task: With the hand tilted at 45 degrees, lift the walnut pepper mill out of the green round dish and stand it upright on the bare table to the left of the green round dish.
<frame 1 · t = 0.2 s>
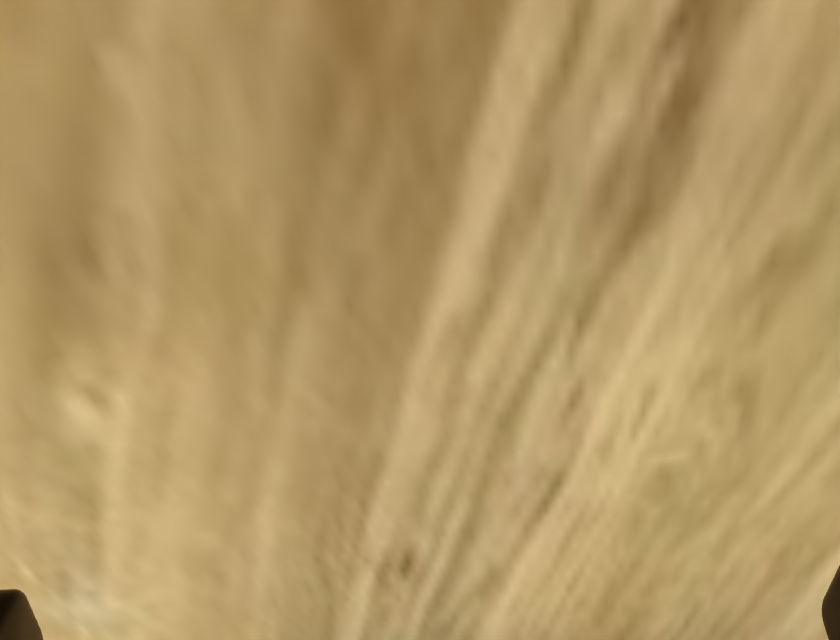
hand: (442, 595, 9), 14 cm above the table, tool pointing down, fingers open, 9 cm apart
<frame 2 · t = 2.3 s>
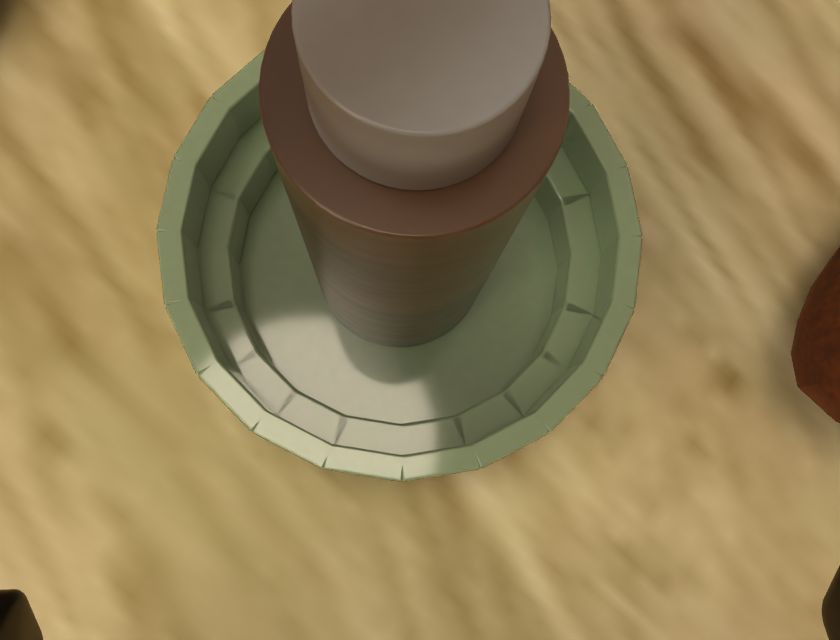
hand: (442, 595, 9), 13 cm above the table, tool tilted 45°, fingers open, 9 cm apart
green round dish: (399, 271, 23), on the table
pepper mill: (400, 267, 23), point 1 cm above the table, touching green round dish
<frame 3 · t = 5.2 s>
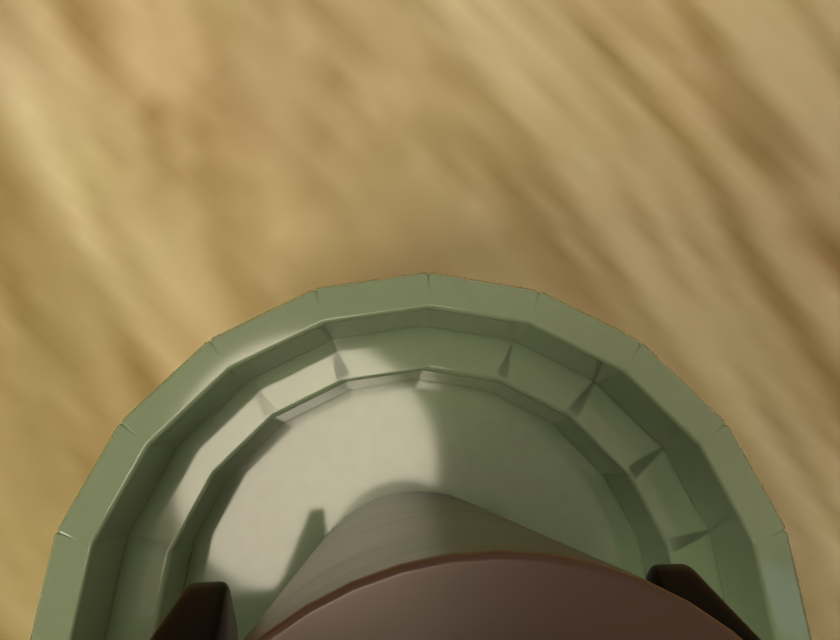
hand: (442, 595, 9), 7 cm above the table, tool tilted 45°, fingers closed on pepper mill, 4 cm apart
green round dish: (417, 609, 16), on the table
pepper mill: (418, 614, 15), point 1 cm above the table, touching green round dish, gripper
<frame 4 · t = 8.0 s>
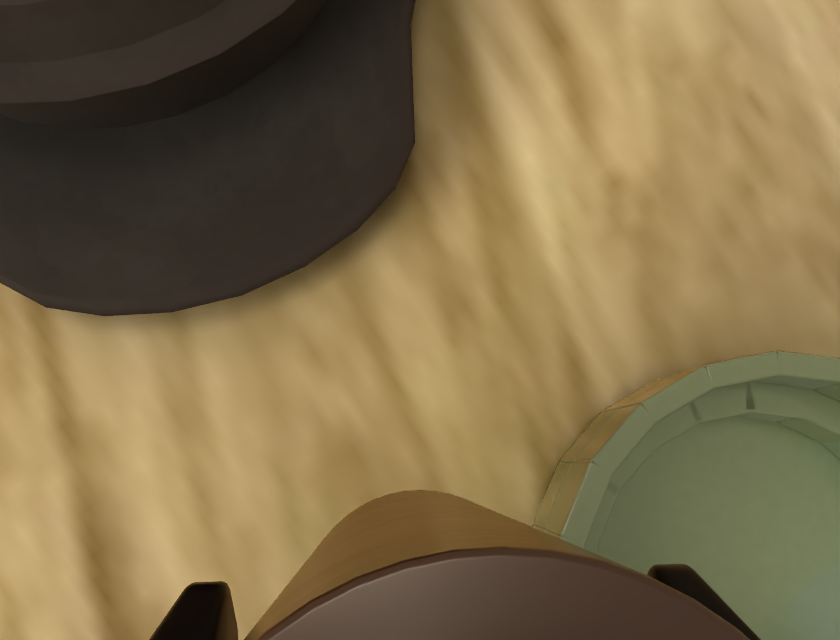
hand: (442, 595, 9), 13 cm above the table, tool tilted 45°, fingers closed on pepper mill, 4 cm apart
green round dish: (732, 579, 22), on the table
pepper mill: (419, 613, 15), point 7 cm above the table, touching gripper
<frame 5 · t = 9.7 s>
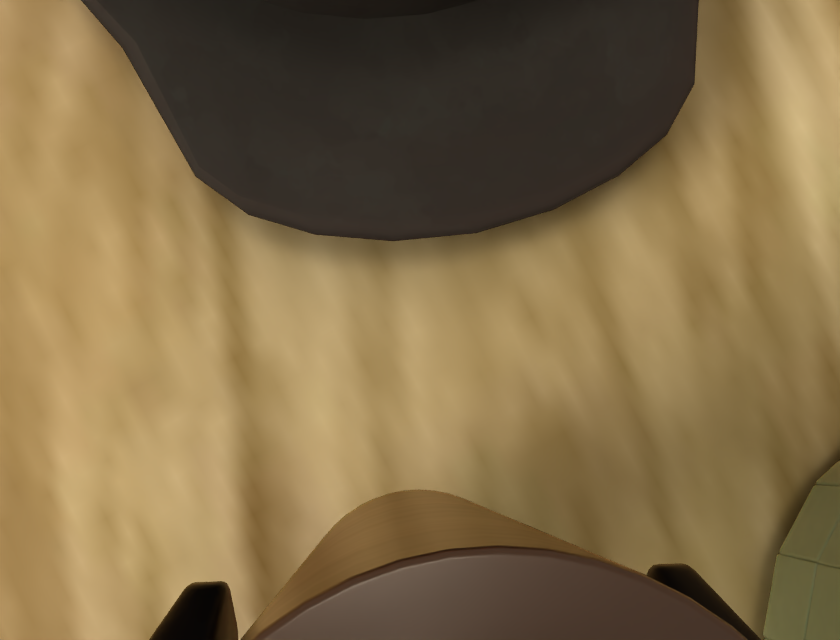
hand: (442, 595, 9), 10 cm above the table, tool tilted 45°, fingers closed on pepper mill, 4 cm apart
pepper mill: (418, 613, 15), point 3 cm above the table, touching gripper
when the fingers open (7 cm above the table, at t = 11.0 s): pepper mill stays where it is, on the table.
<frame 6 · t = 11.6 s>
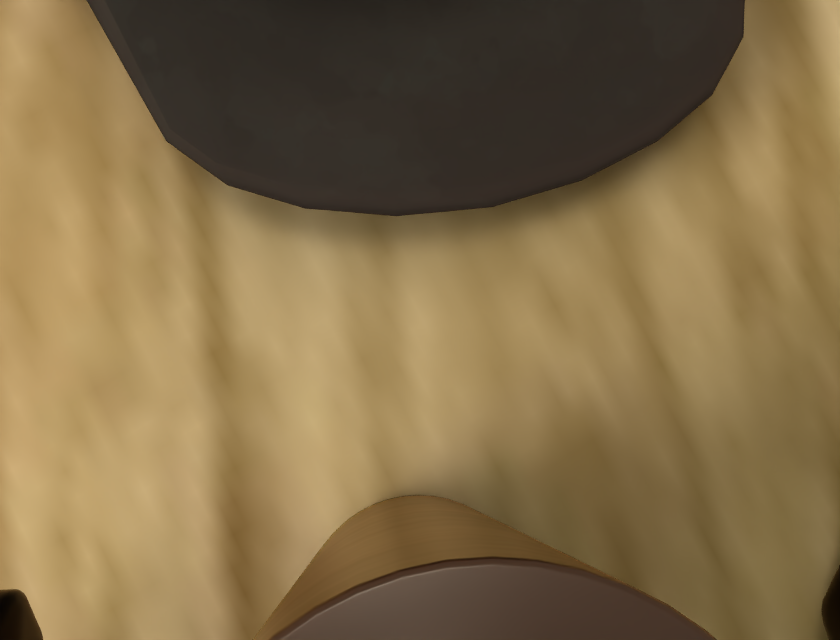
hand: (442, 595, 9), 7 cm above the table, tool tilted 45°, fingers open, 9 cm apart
pepper mill: (418, 615, 16), on the table
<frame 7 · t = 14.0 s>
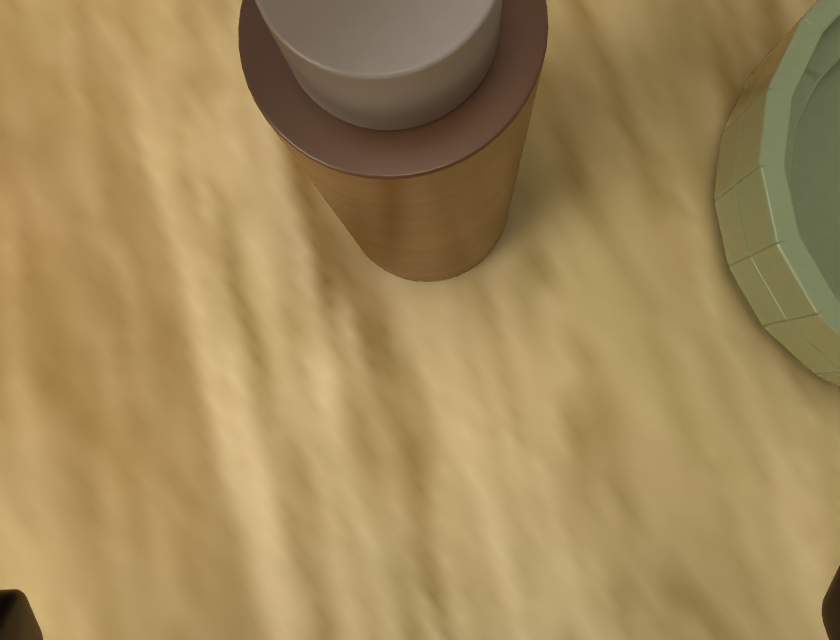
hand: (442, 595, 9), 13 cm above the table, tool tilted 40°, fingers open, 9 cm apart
pepper mill: (427, 201, 23), on the table
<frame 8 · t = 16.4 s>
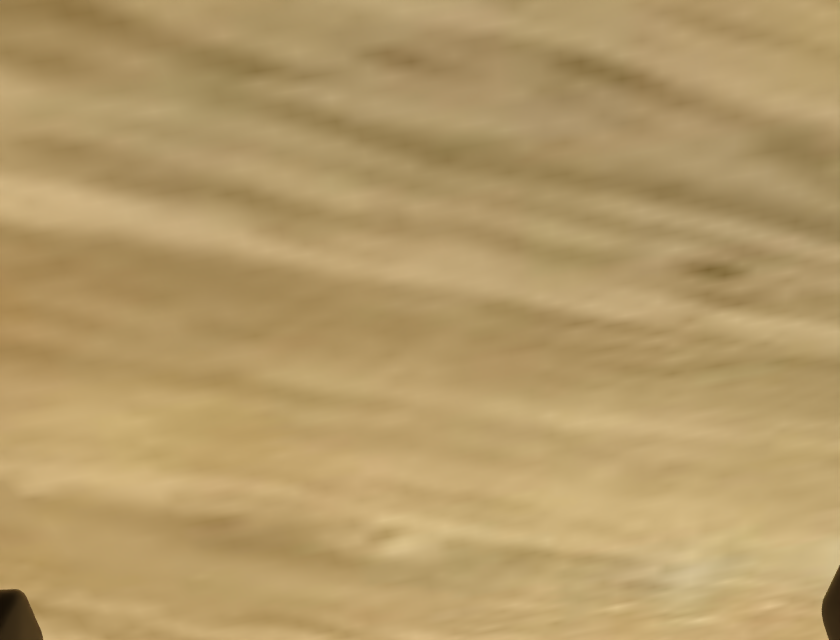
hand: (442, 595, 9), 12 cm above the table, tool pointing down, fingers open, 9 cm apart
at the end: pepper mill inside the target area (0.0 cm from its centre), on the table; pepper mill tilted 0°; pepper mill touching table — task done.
